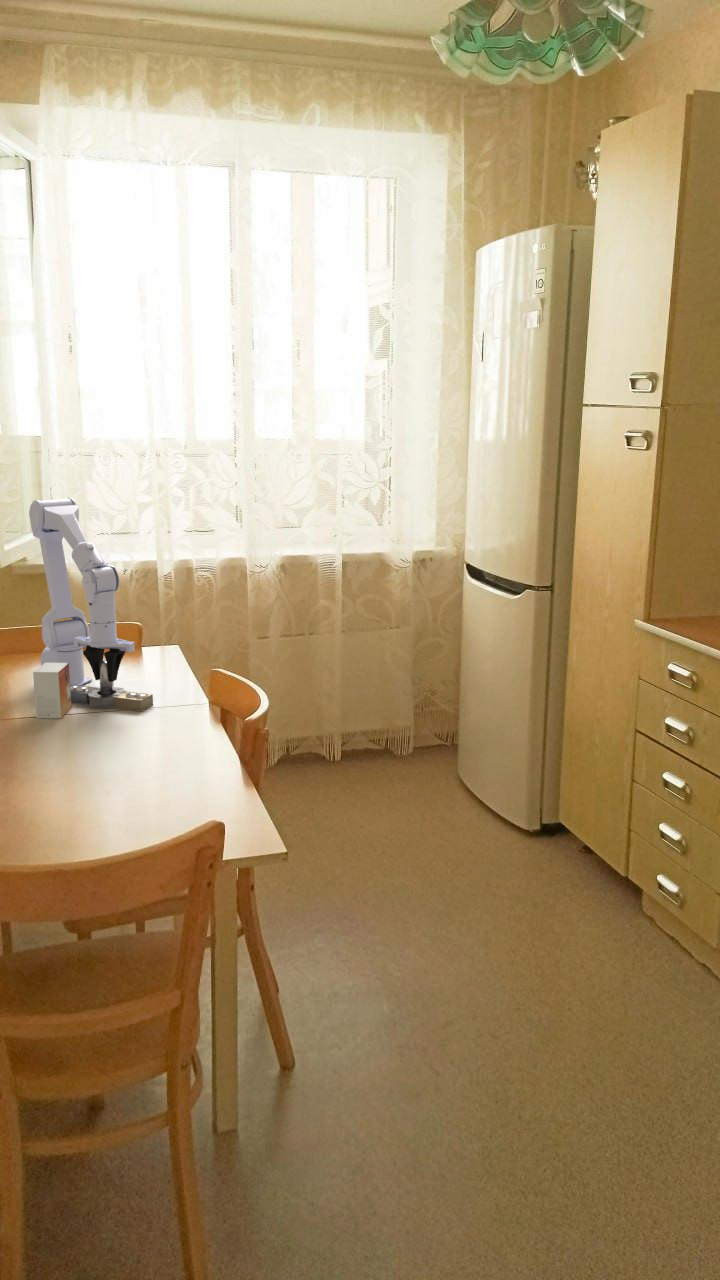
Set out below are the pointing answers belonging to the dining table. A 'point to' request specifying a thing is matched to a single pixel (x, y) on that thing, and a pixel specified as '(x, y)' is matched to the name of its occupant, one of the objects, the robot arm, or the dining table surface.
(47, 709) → the small box
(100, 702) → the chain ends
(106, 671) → the pin
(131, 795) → the dining table surface
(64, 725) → the dining table surface
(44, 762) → the dining table surface
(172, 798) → the dining table surface
